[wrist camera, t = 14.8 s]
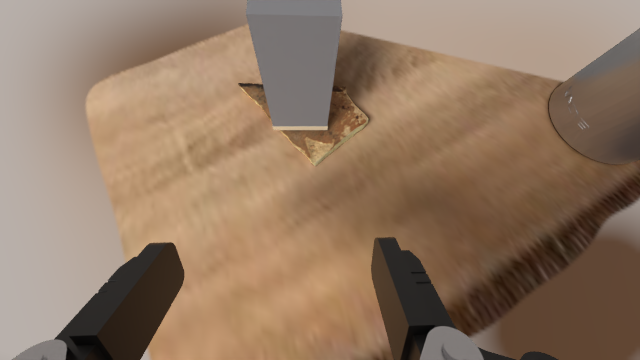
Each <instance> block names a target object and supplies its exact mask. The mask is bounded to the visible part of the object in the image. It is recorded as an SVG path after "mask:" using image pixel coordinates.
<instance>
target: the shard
mask: <svg viewBox="0 0 640 360" xmlns="http://www.w3.org/2000/svg"><path fill="white" fill-rule="evenodd" d="M238 85H239V86H240V87H241V89H242V90H243V92H244V93H245V94H246V95H248V96H249V98H251V99H252V100H253V101H254V102H256V104H257V105H259V107H261V108H262V110H263V111H264V112H265V113H266V115H267V116H268V118H269V119H270V120H271V116H270V112H269V108H268V103H267V99H266V95H265V91H264V87H263V85H259V84H250V83H245V84H244V83H239V84H238ZM368 120H369V119H368V117H367V116H366V115H365V114H364V113H363V112H362V111H361V110H360V109H359V108H358V107H357V106H356V105H355V104H354V103H353V102H352V101H351V99H350V97H349V96H348V94H347V93H346V87H339V86H333V88H332V95H331V102H330V110H329V117H328V129H327V130H280V132H281V133H282V134H283V135H284V136H286V137H287V138H288V140H289V141H290V142H291V143H292V145H293V146H294V147H295V148H296V149H297V150H298V151H300V152H301V153H303V154H304V155H305V156H306V158H308V159H309V161H310V162H312V164H313V165H314V166H317V165H318V164H319V163H320V162H321V161H322V160H323V159H324V158H325V157H327V156H328V155H329V154H331V153H332V152H333V151H334V150H335V149H337V148H338V147H339V146H340V145H342V144H343V143H344V142H346V141H347V140H349V139H350V138H351V137H352V136H354V134H355V133H356V132H358V131H360V130H362V129H363V128H364V126H365V125H366V124H367V123H368ZM271 121H272V120H271Z"/></svg>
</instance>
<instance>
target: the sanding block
mask: <svg viewBox="0 0 640 360" xmlns="http://www.w3.org/2000/svg"><path fill="white" fill-rule="evenodd" d="M246 16H247V20H248V24H249V29H250V33H251V37H252V41H253V45H254V49H255V54H256V58H257V62H258V66H259V70H260V74H261V78H262V83H263V87H264V91H265V95H266V99H267V103H268V108H269V112H270V116H271V120H272V124H273V125H272V127H273V130H327V129H328V117H329V110H330V102H331V95H332V88H333V81H334V73H335V66H336V59H337V52H338V44H339V37H340V30H341V22H342V7H341V0H247V9H246Z"/></svg>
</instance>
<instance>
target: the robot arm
mask: <svg viewBox="0 0 640 360" xmlns="http://www.w3.org/2000/svg"><path fill="white" fill-rule="evenodd" d="M549 113H550V117H551V120H552V122H553V124H554V126H555V128H556V130H557V131H558V133H559V134H560V135H561V137H562V138H563V139H564V140H565V141H566V142H567V143H568V144H569V145H570V146H571V147H573V148H574V149H575V150H577V151H578V152H580V153H581V154H583V155H585V156H587V157H589V158H591V159H593V160H596V161H599V162H602V163H607V164H614V165H615V164H627V163H631V162H635V161H638V160H640V29H638V30H637V31H635V32H634V33H633V34H631V35H630V36H628V37H627V38H626V39H624V40H623V41H621V42H620V43H619V44H617V45H616V46H614V47H613V48H612V49H610V50H609V51H607V52H606V53H604V54H603V55H602V56H600V57H599V58H597V59H596V60H595V61H593V62H592V63H590V64H589V65H588V66H586V67H585V68H583V69H582V70H581V71H579V72H578V73H577V74H575V75H574V76H572V77H571V78H569V79H568V80H567V81H565V82H564V83H562V84H561V85H560V86H559V87H557V88H556V89H555V90H554V92H553V93H552V95H551V98H550V101H549ZM371 272H372V280H373V284H374V288H375V291H376V295H377V299H378V303H379V306H380V310H381V314H382V317H383V321H384V325H385V328H386V332H387V336H388V340H389V343H390V347H391V351H392V354H393V358H394V360H515V359H512V358H508V357H505V356H501V355H498V354H495V353H491V352H488V351H485V350H483V349H481V348H479V347H477V346H476V344H475V343H474V342H473V341H472V340H471V339H470V338H469V337H468V336H466V335H465V334H464V333H462V332H460V331H459V330H457V329H456V327H455V326H454V324H453V322H452V320H451V319H450V317H449V315H448V313H447V311H446V309H445V307H444V305H443V303H442V301H441V300H440V298H439V296H438V294H437V292H436V290H435V288H434V286H433V284H431V281H430V279H429V277H428V275H427V274H426V271H425V269H424V267H423V265H422V264H421V262H420V260H419V259H418V258H417V257H416V256H415V255H414V254H413V253H412V252H410V251H409V250H402V251H401V249H400V247H399V245H398V243H397V240H396V239H395V238H394V237H388V238H375V241H374V248H373V256H372V265H371ZM183 281H184V269H183V266H182V264H181V261H180V258H179V255H178V252H177V250H176V247H175V245H174V244H173V243H150V244H148V245H147V246H146V247H145V248H144V249H143V251H142V252H141V253H140V254H139V255H138V256H137V257H134V258H132V259H131V260H129V261H128V262H127V263H125V264H124V265H122V266H121V267H120V268H119V269H118V270H117V271H116V272H115V273H114V274H113V275H112V276H111V277H110V279H109V280H108V282H107V283H105V284H104V285H103V286H102V287H101V289H100V290H99V292H98V293H96V294H95V295H94V296H93V297H92V298H91V300H90V301H89V302H88V303H87V304H86V305H85V306H84V307H83V308H82V309H81V310H80V311H79V313H78V314H77V315H76V316H75V317H74V318H73V319H72V320H71V321H70V323H69V324H68V325H67V326H66V327H65V328H64V329H63V330H62V331H61V333H60V334H59V335H58V336H57V337H56V338H55V339H54V340H49V341H45V342H42V343H39V344H37V345H35V346H33V347H31V348H29V349H27V350H25V351H24V352H22V353H20V354H19V355H18V356H16V357H15V358H13V359H12V360H140V359H141V358H142V356H143V354H144V352H145V350H146V349H147V347H148V345H149V343H150V342H151V340H152V338H153V336H154V335H155V333H156V331H157V329H158V327H159V326H160V324H161V322H162V320H163V319H164V317H165V315H166V313H167V311H168V310H169V308H170V306H171V304H172V303H173V301H174V299H175V297H176V295H177V294H178V292H179V290H180V288H181V287H182V284H183ZM520 360H558V359H556V358H554V357H552V356H550V355H547V354H545V353H541V352H528V353H525V354H524V355H523V356H522V358H521V359H520Z"/></svg>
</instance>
